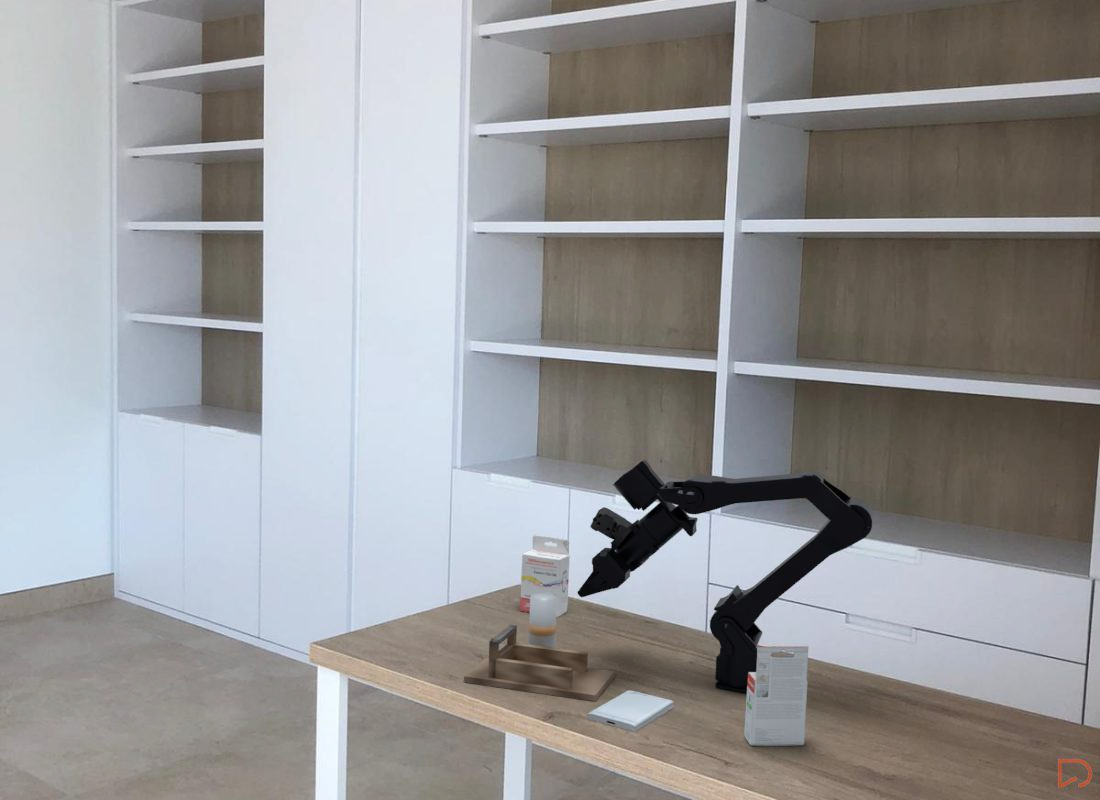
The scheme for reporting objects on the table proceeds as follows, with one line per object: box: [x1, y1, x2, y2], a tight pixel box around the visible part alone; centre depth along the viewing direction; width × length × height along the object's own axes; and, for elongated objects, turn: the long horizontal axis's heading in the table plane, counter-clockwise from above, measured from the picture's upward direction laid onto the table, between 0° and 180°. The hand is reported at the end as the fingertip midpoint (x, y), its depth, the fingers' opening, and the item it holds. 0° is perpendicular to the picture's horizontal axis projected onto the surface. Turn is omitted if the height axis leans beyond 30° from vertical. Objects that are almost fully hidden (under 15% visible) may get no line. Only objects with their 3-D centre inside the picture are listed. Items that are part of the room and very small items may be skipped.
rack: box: [463, 624, 615, 702], centre depth 185 cm, size 22×12×7 cm, turn 72°
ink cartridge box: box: [519, 534, 571, 618], centre depth 225 cm, size 9×5×15 cm, turn 66°
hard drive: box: [586, 690, 675, 733], centre depth 172 cm, size 2×8×12 cm
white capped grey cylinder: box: [528, 593, 557, 648], centre depth 196 cm, size 5×5×11 cm
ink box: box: [743, 645, 809, 747], centre depth 163 cm, size 4×8×15 cm, turn 96°
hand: (586, 588), depth 193 cm, fingers open, 9 cm apart
